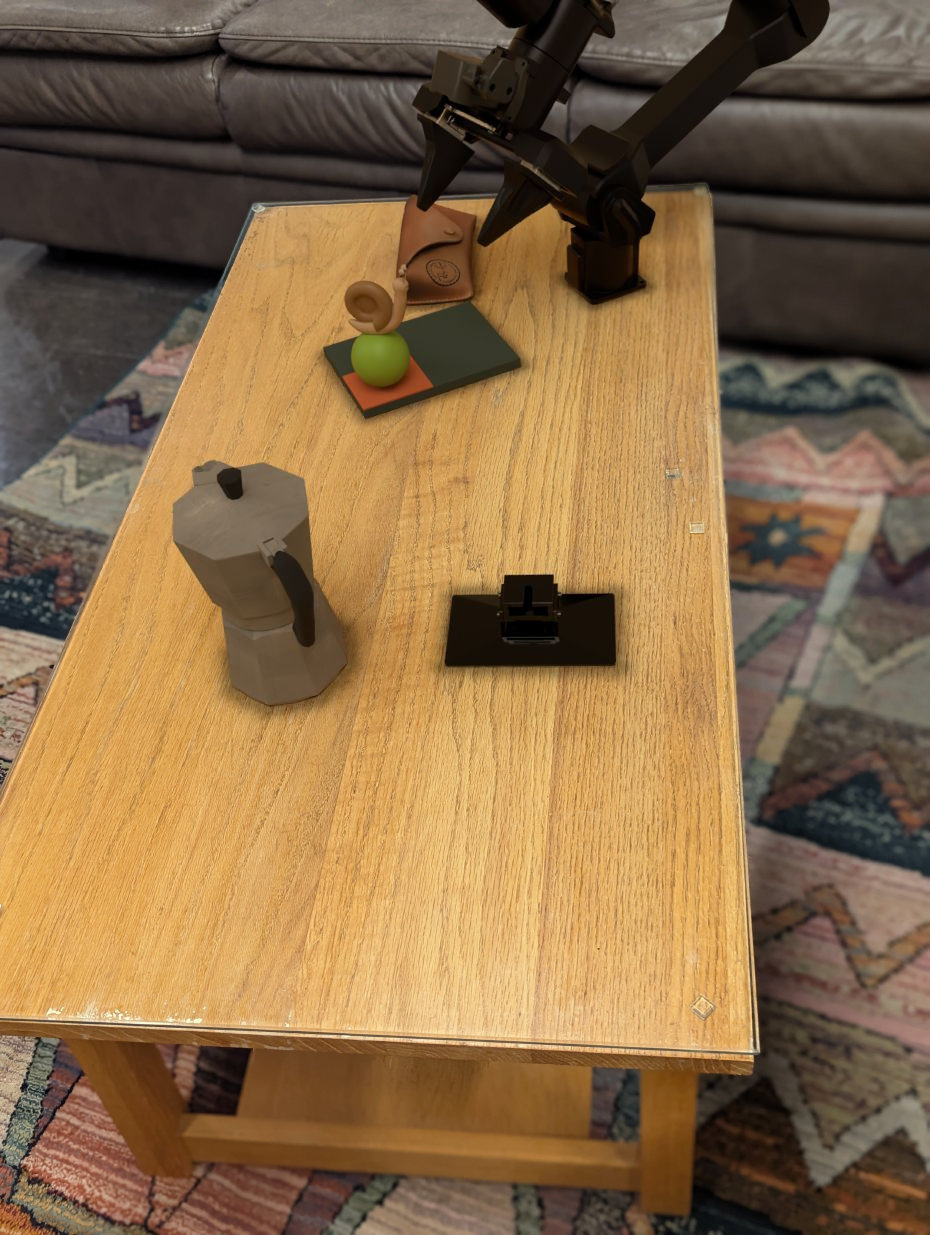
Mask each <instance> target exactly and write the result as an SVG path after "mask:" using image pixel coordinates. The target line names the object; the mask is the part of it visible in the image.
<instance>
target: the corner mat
mask: <svg viewBox="0 0 930 1235" xmlns="http://www.w3.org/2000/svg"><path fill="white" fill-rule="evenodd" d="M395 331H396V332H398V333H399V334H400V335H401V336H402V337H403V338H404V340H405V341H406V343H407V345H408V348H409V352H410V363H409V367H408V369H407V371H406V373H405V375H404V376H403V377H402V378H401V379H400V380H399V381H398V382H396V383H395V384H392V385H390V386H386V387H376V386H372V385H370V384H368V383H366V382H364V381H363V380H362V379H361V378H360V377H359V376H358V375H357V374H356V372H355V370H354V368H353V365H352V361H351V351H352V347H353V344H354V342H355V340H356V339H357V338H358V336H359V335H357V336H354V337H350V338H348V339H345V340H341V341H338V342H335V343H332V344H329V345H326V346H323V347H322V348H323V354H324V358H326V360H327V361H328V363H329V365H330V366H331V368H332V369H333V370H334V372H335V374H336V375H337V377H338V379H339V380H340V382H341V383H342V385H343V387H344V388H345V389H346V391H347V393H348V395H349V396H350V397H351V399H352V400H353V402H354V403H355V404H356V407H357V409H358V410H359V412H360V413H361V415H362V416H363V418H364V419H365V420H367V419H369V418H370V419H371V418H372V417H375V416H378V415H381V414H384V413H386V412H387V413H388V412H391V411H394V410H396V409H400V408H401V407H405V406H408V405H410V404H414V403H417V402H420V401H423V400H426V399H429V398H432V397H435V396H437V395H441V394H444V393H446V392H447V393H448V392H449V391H450V392H451V391H452V390H456V389H459V388H462V387H465V386H467V385H472V384H473V383H478V382H479V381H482V380H486V379H488V378H492V377H494V376H495V377H496V376H498V375H500V374H503V373H506V372H509V371H513V370H515V369H518V368H519V369H520V368H521V367H522V364H521V357H520V356H519V355H518V354H517V353H516V352H515V350H514V349H513V348H512V347H511V346H510V345H509V344H508V343H507V341H506V340H505V339H504V338H503V337H502V336H501V335H500V333H499V332H498V331H497V330H496V329H495V328H494V327H493V325H492V324H491V323H490V322H489V321H488V320H487V318H486V317H485V316H484V315H483V314H482V312H480V311H479V310H478V308H477V307H476V306H475V305H474V303H472V301H471V300H468V301H464V302H461V303H458V304H455V305H452V306H449V307H445V308H442V309H439V310H435V311H432V312H429V313H426V314H424V315H423V314H422V315H419V316H417V317H413V318H411V319H410V318H409V319H408V320H407V319H406V320H403V321H402V323H401V324H400V326H399V327H398V328H397V329H395Z"/></svg>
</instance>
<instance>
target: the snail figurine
mask: <svg viewBox="0 0 930 1235" xmlns="http://www.w3.org/2000/svg"><path fill="white" fill-rule="evenodd" d="M406 270H407V266H406V265H405V264H403V265H402V266H401V269H399V274H400V275H402V277H403V275H404V273H405V271H406ZM392 290H393V292H394V297H393V299H392V297H391V295H390V294H389V292H388V291H387V290H386V289H385V288H384V287H383V286H382V285H380V284H378V283H376V282H374V281H371V280H366V279H365V280H357V281H354V282H353V283H351V284H350V285H349V286H348V287H347V289H346V290H345V292H344V305H345V308H346V311H347V312H348V313H349V314H350V316H351V317H352V318H349V319H347V322H348V323H349V325H350V326H351V328H353V329H354V330H356V331H357V332H359V333H360V334H359V335H357V336H358V338H357V339H356V340H355V342H354V344H353V347H352V351H351V361H352V365H353V368H354V370H355V372H356V374H357V375H358V376H359V377H360V378H361V379H362V380H363V381H364V382H366V383H368V384H370V385H372V386H376V387H386V386H390V385H392V384H395V383H396V382H398V381H399V380H400V379H401V378H402V377H403V376H404V375H405V373H406V371H407V369H408V367H409V363H410V352H409V348H408V345H407V343H406V341H405V340H404V338H403V337H402V336H401V335H400V334H399V333H398V332H396V331H395V329H397V328H398V327H399V326H400V324H401V323H402V322H404V318H405V314H406V310H407V305H406V302H407V291H408V282H407V280H406V273H405V278H397V279H396V278H394V280H393V282H392Z"/></svg>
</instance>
